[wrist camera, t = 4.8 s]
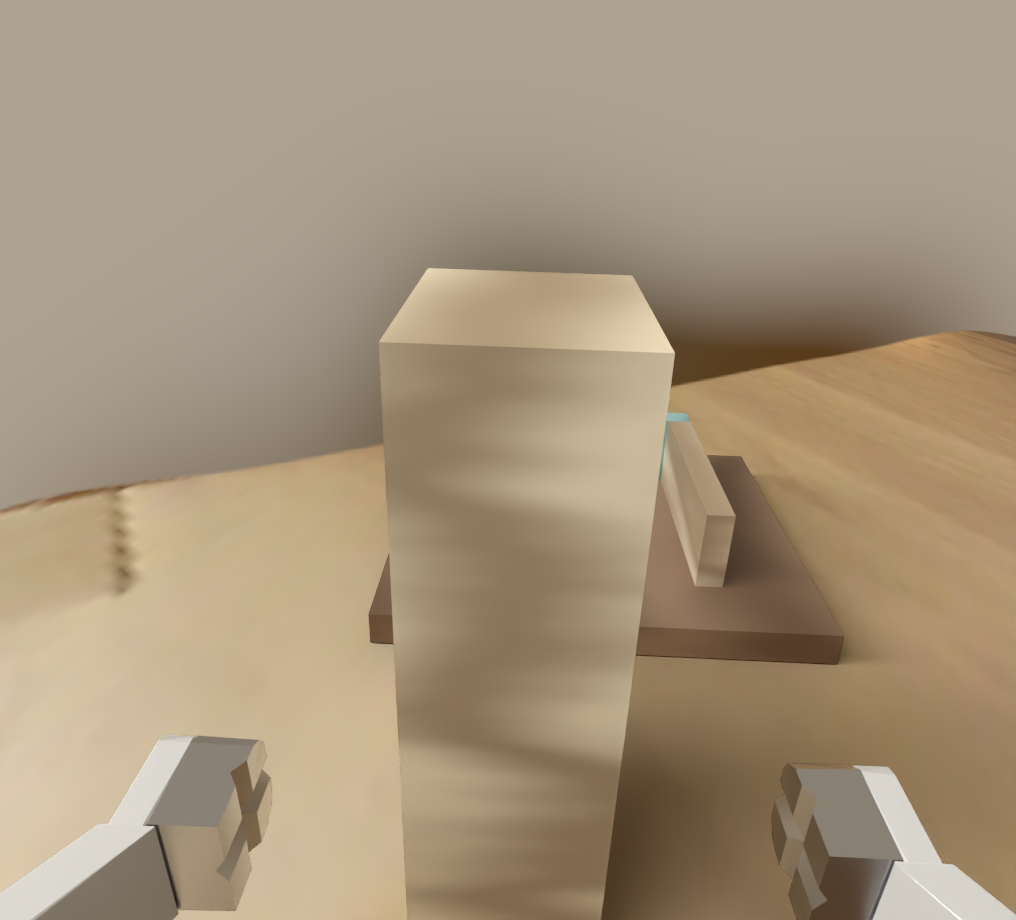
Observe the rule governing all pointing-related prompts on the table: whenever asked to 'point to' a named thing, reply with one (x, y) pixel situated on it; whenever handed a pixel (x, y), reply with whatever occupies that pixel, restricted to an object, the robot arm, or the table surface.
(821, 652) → the dock
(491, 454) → the tan tall rectangular block
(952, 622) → the table surface
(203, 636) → the table surface
